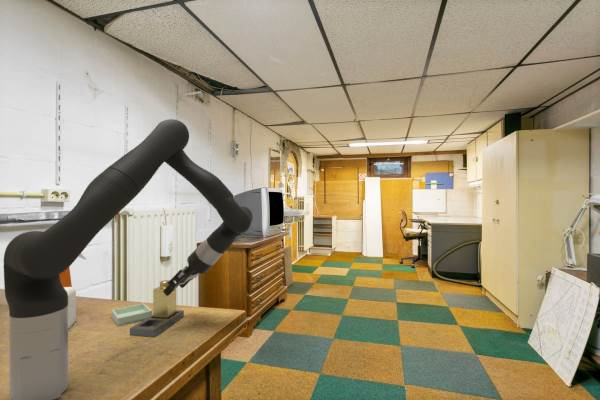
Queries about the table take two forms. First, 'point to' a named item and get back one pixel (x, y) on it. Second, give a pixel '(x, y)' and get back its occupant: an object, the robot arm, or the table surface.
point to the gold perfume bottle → (163, 302)
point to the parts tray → (131, 314)
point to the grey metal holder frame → (155, 325)
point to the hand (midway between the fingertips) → (173, 289)
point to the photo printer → (71, 305)
